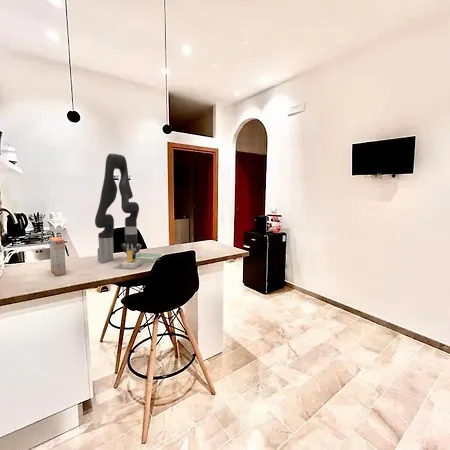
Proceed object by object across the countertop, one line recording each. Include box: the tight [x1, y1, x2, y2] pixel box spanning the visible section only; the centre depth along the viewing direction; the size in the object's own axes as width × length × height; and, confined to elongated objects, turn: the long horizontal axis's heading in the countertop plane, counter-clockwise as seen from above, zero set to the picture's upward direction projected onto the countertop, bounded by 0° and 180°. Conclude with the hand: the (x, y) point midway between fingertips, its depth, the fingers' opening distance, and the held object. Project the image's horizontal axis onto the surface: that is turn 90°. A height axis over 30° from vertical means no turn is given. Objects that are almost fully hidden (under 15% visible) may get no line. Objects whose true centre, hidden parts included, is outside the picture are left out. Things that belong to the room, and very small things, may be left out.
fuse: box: [126, 249, 135, 263], centre depth 171 cm, size 3×5×10 cm, turn 172°
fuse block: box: [113, 260, 143, 271], centre depth 172 cm, size 14×14×4 cm
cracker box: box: [48, 236, 67, 277], centre depth 156 cm, size 14×6×21 cm, turn 42°
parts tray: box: [135, 251, 162, 263], centre depth 190 cm, size 18×16×4 cm
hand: (131, 259), depth 171 cm, fingers closed on fuse, 2 cm apart
